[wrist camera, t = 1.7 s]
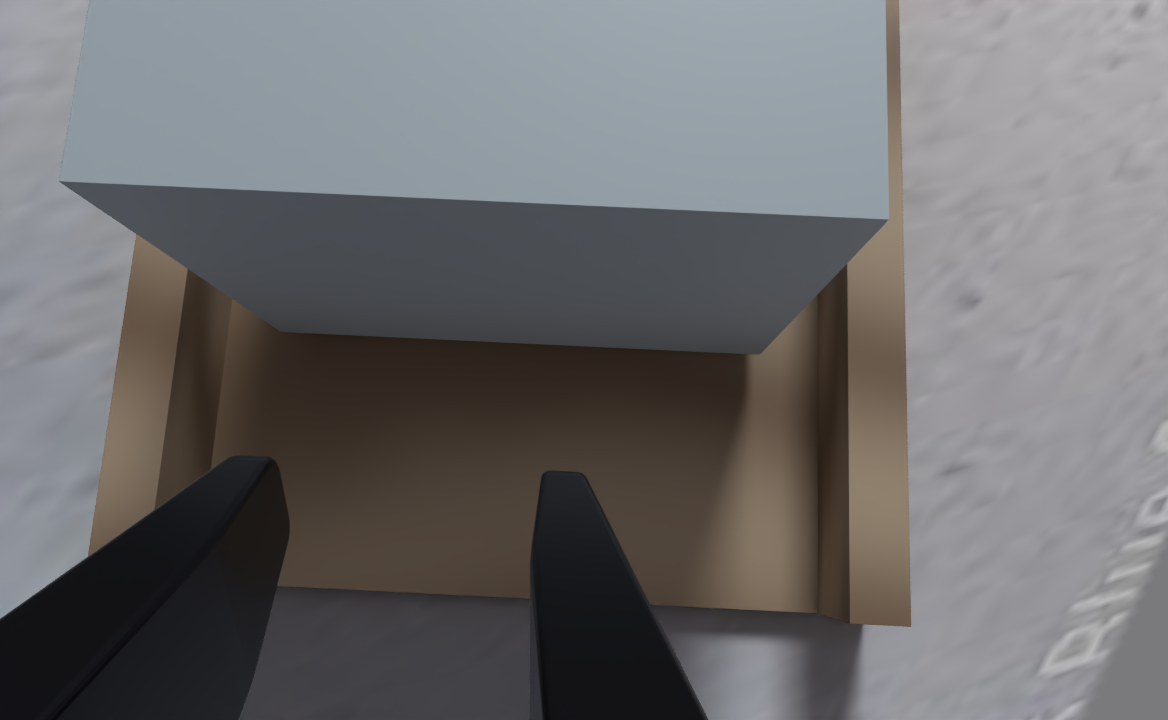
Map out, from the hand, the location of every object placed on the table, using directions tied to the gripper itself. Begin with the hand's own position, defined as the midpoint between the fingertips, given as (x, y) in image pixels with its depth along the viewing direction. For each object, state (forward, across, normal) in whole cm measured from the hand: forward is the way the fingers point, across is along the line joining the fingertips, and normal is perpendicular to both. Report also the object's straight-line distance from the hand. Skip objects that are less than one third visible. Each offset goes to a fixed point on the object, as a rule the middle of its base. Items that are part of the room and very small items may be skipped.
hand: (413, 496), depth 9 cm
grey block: (+13, 0, +4) cm, 13 cm away
